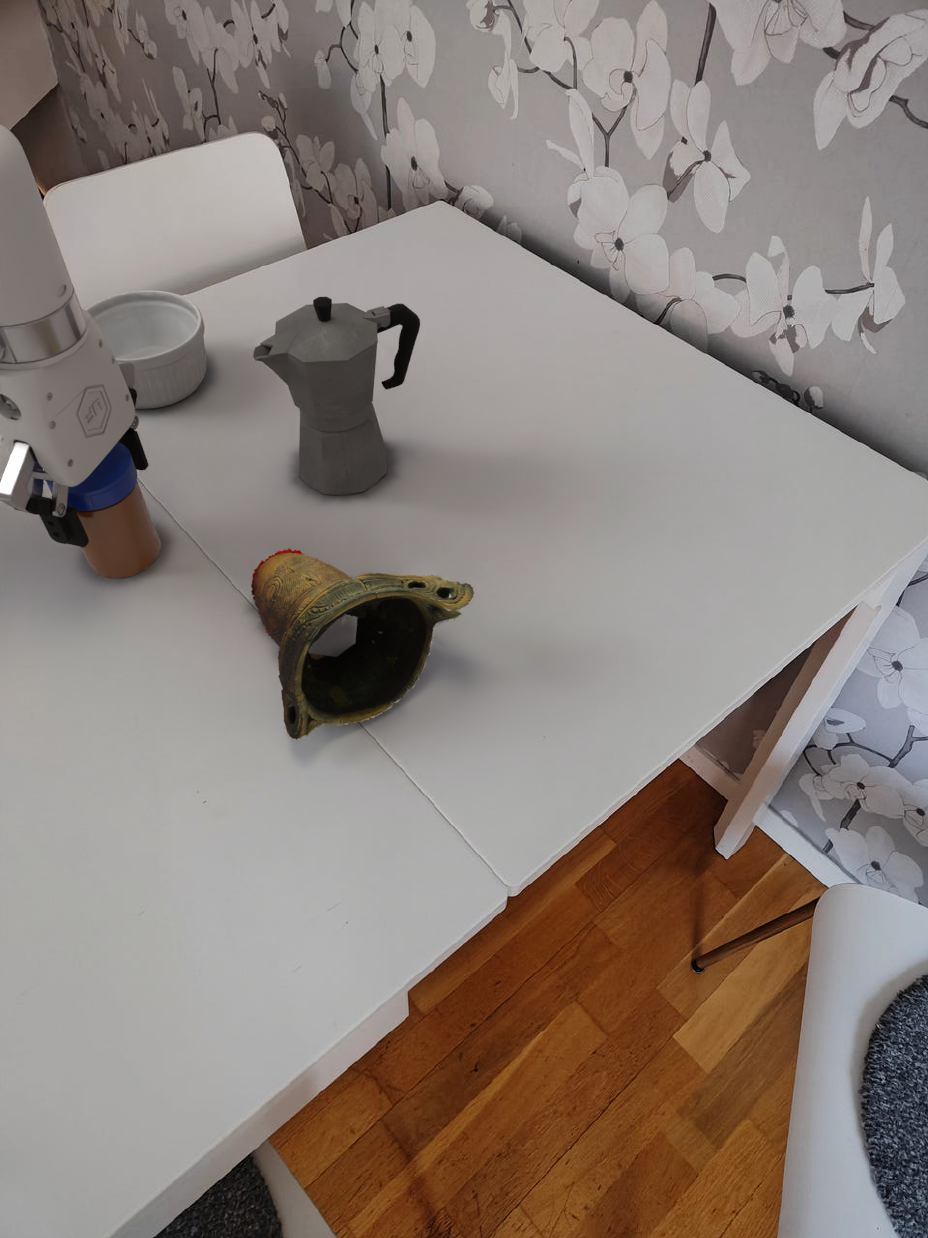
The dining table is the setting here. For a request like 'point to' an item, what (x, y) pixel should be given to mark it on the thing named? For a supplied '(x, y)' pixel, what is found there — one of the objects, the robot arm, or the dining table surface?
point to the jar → (120, 537)
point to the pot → (385, 635)
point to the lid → (104, 482)
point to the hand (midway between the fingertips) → (102, 502)
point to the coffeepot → (338, 387)
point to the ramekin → (155, 342)
